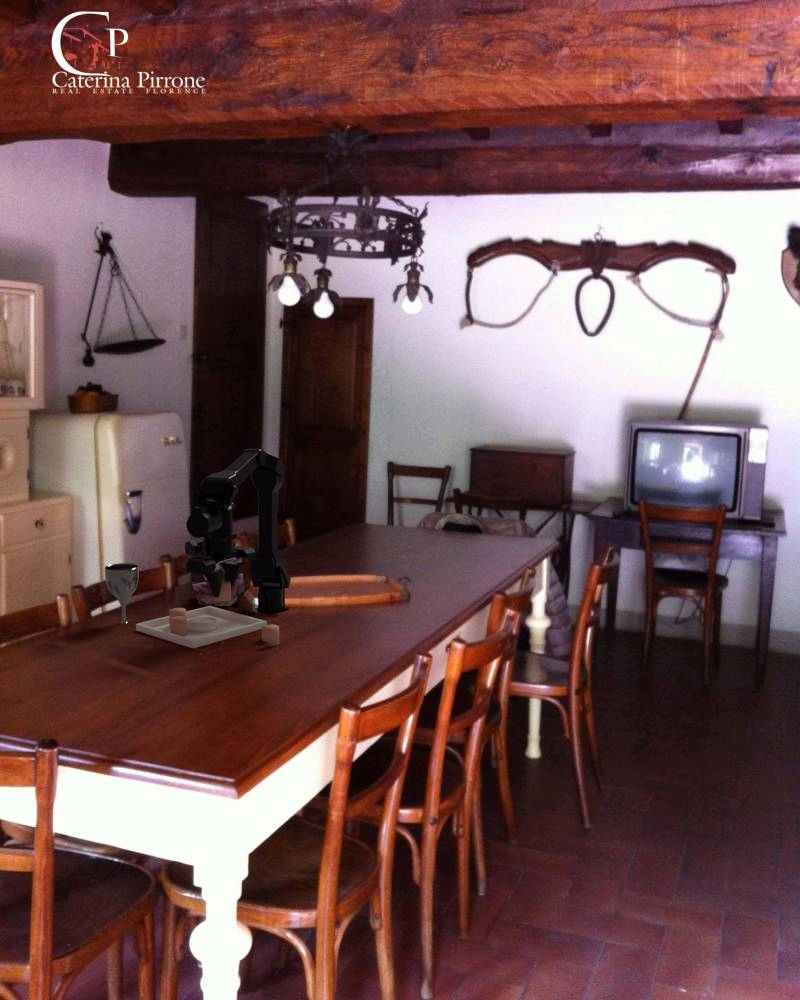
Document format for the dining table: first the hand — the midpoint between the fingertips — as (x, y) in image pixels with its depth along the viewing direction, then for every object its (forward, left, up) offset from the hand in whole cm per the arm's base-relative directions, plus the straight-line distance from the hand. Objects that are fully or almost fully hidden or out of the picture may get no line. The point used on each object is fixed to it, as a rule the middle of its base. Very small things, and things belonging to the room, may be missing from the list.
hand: (222, 595), depth 236 cm
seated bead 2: (+8, -7, -9) cm, 14 cm away
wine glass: (+10, -26, -10) cm, 29 cm away
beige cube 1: (0, 0, -1) cm, 1 cm away
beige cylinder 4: (+4, -13, -9) cm, 16 cm away
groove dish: (+1, -7, -10) cm, 12 cm away
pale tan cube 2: (-4, +12, -10) cm, 17 cm away
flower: (-19, -25, -10) cm, 33 cm away
